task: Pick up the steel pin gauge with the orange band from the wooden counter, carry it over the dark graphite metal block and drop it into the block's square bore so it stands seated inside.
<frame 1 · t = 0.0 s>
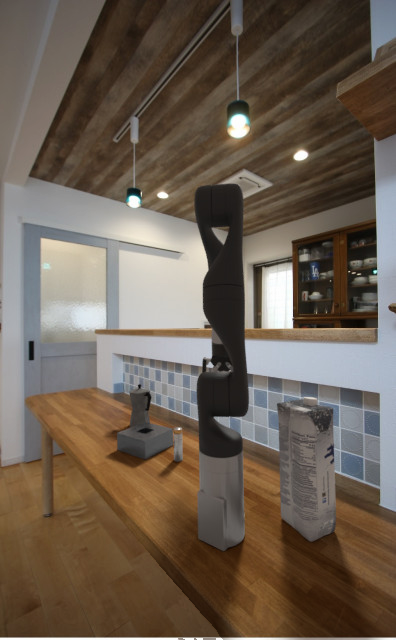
hand: (224, 388, 97), 22 cm above the table, tool pointing down, fingers open, 8 cm apart
pin gauge: (178, 459, 95), on the table
bore block: (145, 447, 105), on the table
coffeepot: (141, 425, 129), on the table
hinge: (307, 488, 77), on the table
juice carton: (307, 526, 62), on the table
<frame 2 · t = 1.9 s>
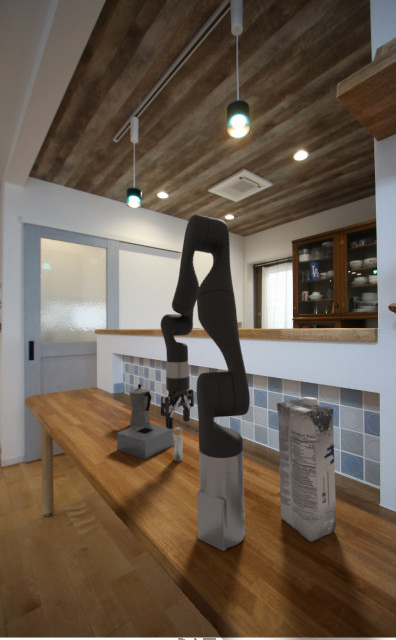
hand: (178, 424, 95), 11 cm above the table, tool pointing down, fingers open, 8 cm apart
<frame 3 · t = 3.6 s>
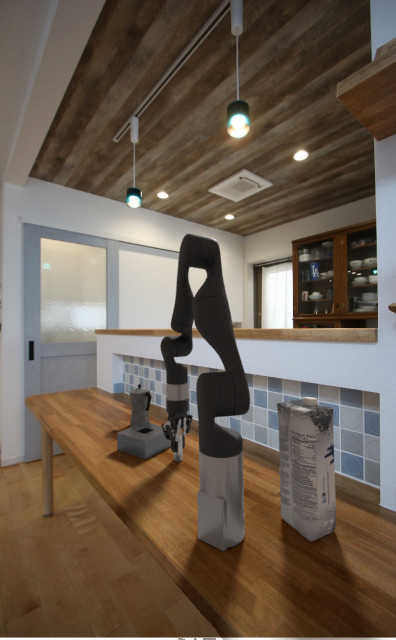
hand: (178, 449, 95), 3 cm above the table, tool pointing down, fingers closed on pin gauge, 2 cm apart
pin gauge: (178, 459, 95), on the table, touching gripper
everything else where it was.
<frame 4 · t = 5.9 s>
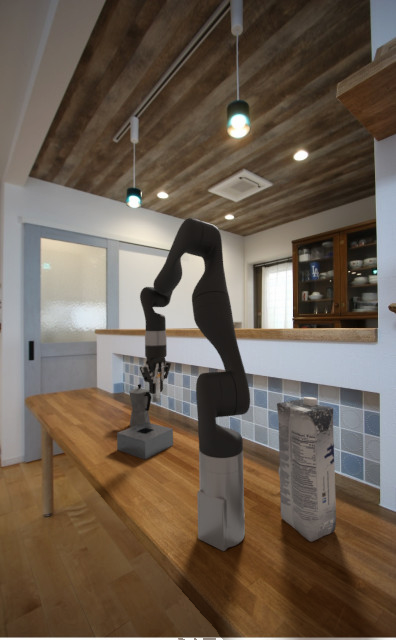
hand: (156, 392, 103), 20 cm above the table, tool pointing down, fingers closed on pin gauge, 2 cm apart
pin gauge: (156, 401, 103), point 17 cm above the table, touching gripper
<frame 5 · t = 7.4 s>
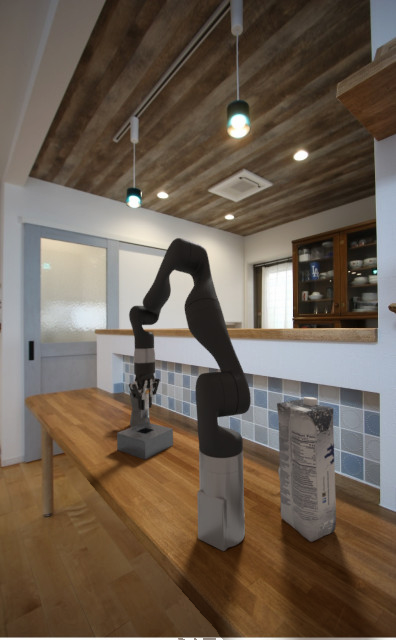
hand: (145, 408, 105), 14 cm above the table, tool pointing down, fingers closed on pin gauge, 2 cm apart
pin gauge: (145, 417, 105), point 11 cm above the table, touching gripper
when the fingers open (7 cm above the table, at t = 8.8 s): pin gauge drops 3 cm, resting on bore block.
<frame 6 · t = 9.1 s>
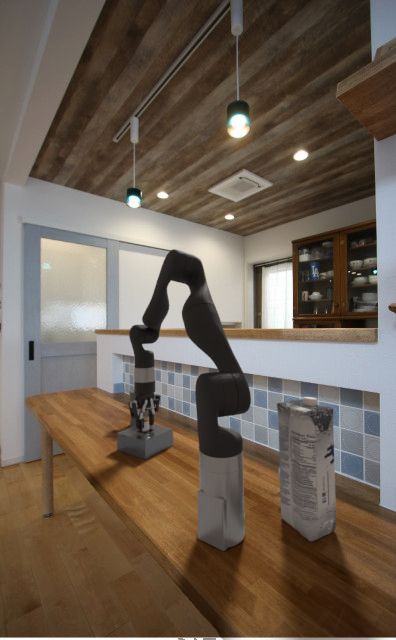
hand: (145, 426, 105), 7 cm above the table, tool pointing down, fingers open, 5 cm apart
pin gauge: (145, 444, 105), point 1 cm above the table, touching bore block
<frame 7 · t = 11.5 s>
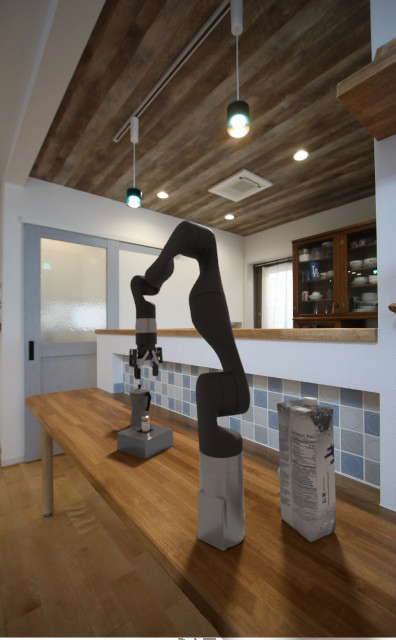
hand: (146, 377, 103), 26 cm above the table, tool pointing down, fingers open, 8 cm apart
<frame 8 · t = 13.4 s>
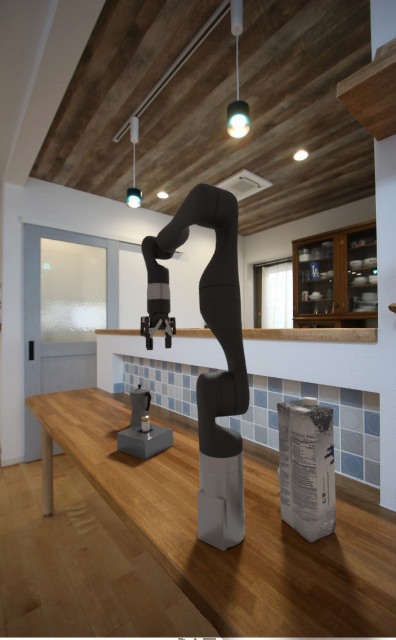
hand: (159, 349, 93), 36 cm above the table, tool pointing down, fingers open, 8 cm apart
at the end: pin gauge 0.1 cm off-centre on the bore block, point 1.0 cm above the bore block's base; pin gauge tilted 0°; the gripper is holding nothing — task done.
